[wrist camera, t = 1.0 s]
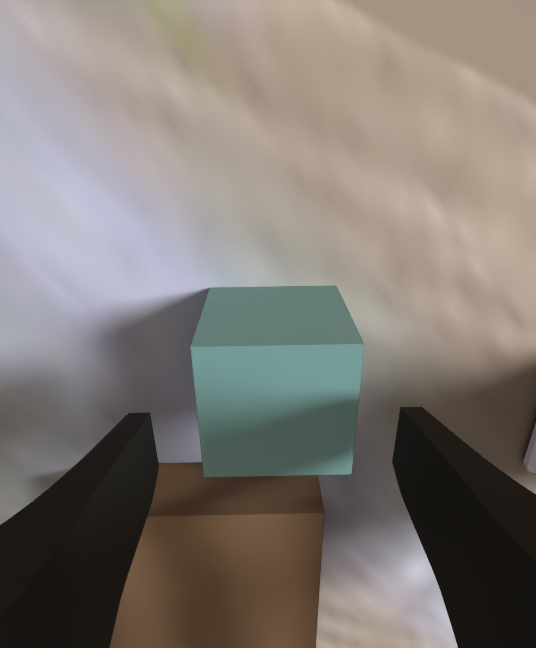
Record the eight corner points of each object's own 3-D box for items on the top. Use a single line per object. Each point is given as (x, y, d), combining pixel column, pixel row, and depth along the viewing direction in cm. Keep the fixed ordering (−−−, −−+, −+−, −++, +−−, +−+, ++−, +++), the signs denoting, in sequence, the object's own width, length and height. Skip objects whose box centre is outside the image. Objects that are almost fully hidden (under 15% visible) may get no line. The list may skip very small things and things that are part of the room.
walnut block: (314, 454, 21) (324, 512, 17) (308, 593, 25) (314, 660, 22) (92, 458, 21) (61, 518, 17) (127, 597, 25) (107, 664, 22)
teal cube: (335, 284, 16) (364, 344, 12) (329, 390, 19) (351, 474, 14) (209, 286, 16) (190, 346, 12) (217, 392, 19) (203, 477, 14)
